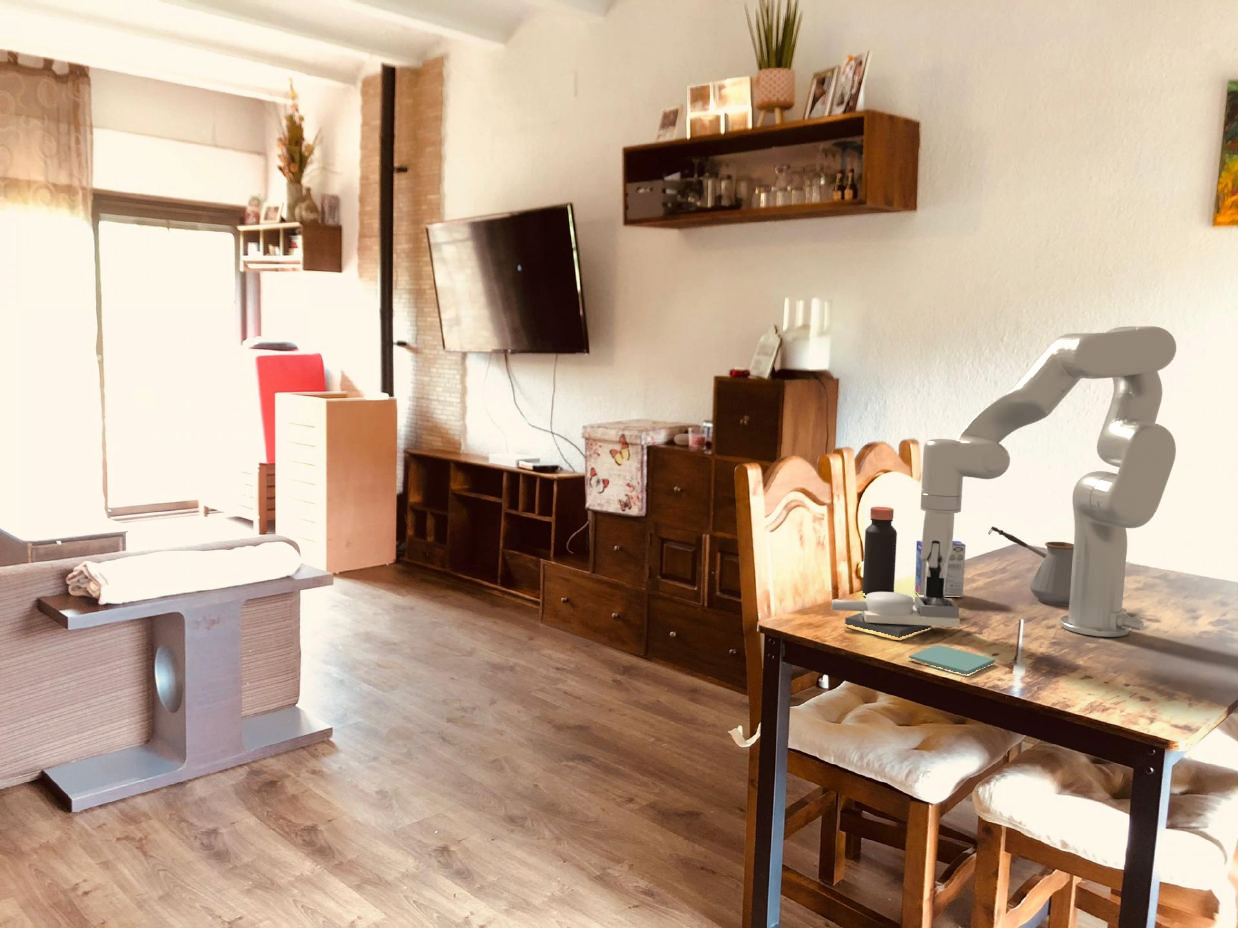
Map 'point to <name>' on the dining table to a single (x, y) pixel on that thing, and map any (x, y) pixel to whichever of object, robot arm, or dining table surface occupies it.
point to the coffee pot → (1050, 571)
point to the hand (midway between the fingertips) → (935, 593)
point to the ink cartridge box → (953, 570)
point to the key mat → (952, 659)
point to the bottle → (879, 552)
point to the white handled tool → (901, 610)
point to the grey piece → (941, 601)
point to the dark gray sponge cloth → (884, 626)
